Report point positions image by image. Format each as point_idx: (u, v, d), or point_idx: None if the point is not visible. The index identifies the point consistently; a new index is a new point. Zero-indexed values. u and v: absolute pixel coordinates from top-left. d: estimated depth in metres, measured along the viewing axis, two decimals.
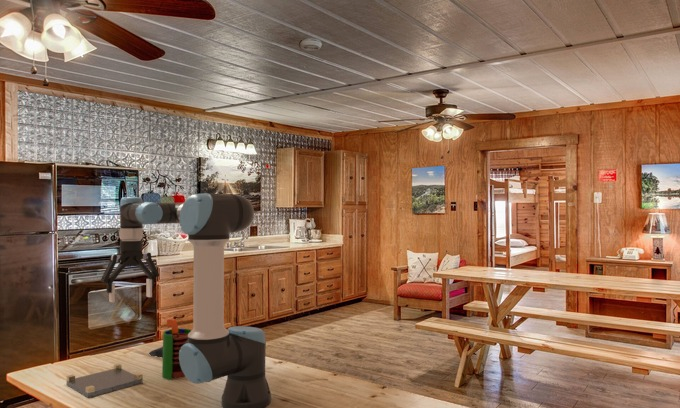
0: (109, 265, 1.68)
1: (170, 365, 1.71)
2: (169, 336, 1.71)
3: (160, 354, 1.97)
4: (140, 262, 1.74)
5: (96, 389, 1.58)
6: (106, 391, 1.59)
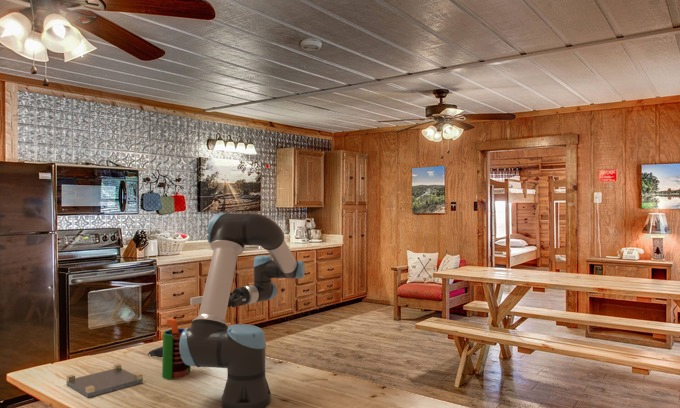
0: None
1: (170, 365, 1.71)
2: (169, 336, 1.71)
3: (159, 354, 1.97)
4: (233, 295, 1.93)
5: (96, 389, 1.58)
6: (106, 391, 1.59)
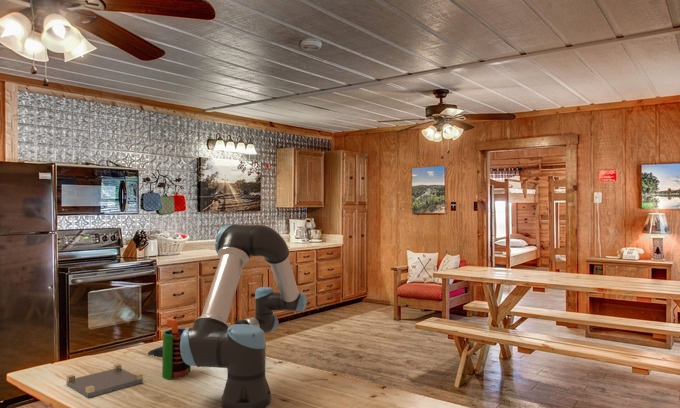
0: None
1: (170, 365, 1.71)
2: (169, 336, 1.71)
3: (159, 354, 1.98)
4: None
5: (96, 389, 1.58)
6: (106, 391, 1.59)
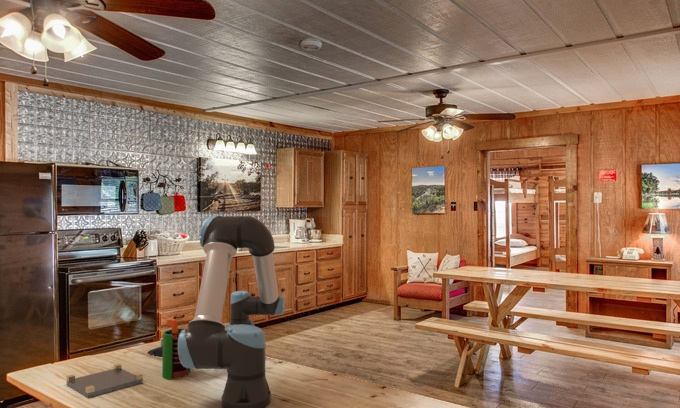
0: None
1: (170, 365, 1.71)
2: (169, 336, 1.71)
3: (158, 354, 1.98)
4: None
5: (96, 389, 1.58)
6: (106, 391, 1.59)
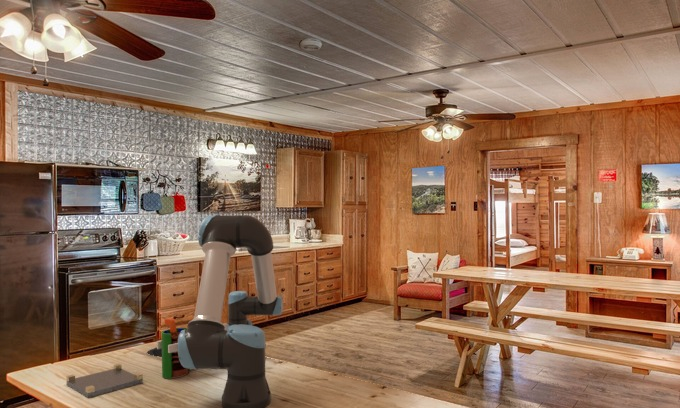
0: None
1: (169, 364, 1.71)
2: (167, 335, 1.72)
3: (157, 354, 1.98)
4: None
5: (96, 389, 1.58)
6: (106, 391, 1.59)
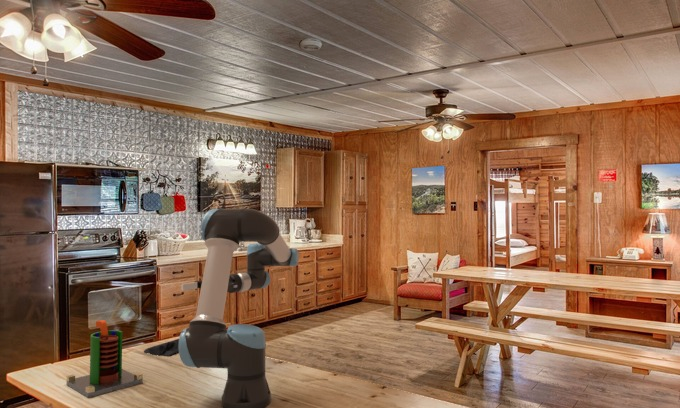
0: None
1: (96, 369, 1.62)
2: (96, 338, 1.62)
3: (153, 352, 2.00)
4: None
5: (96, 389, 1.58)
6: (106, 391, 1.59)
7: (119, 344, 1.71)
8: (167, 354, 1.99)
